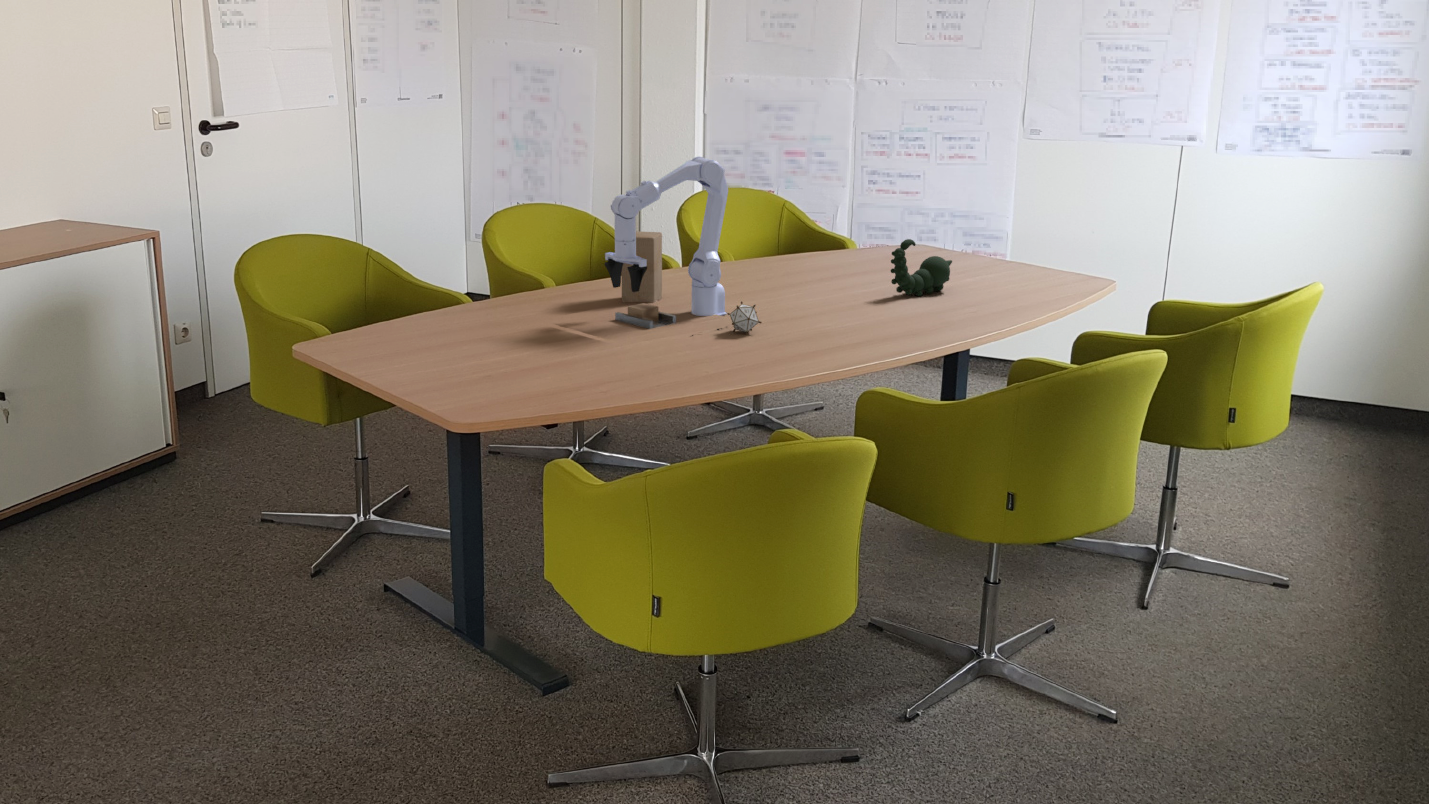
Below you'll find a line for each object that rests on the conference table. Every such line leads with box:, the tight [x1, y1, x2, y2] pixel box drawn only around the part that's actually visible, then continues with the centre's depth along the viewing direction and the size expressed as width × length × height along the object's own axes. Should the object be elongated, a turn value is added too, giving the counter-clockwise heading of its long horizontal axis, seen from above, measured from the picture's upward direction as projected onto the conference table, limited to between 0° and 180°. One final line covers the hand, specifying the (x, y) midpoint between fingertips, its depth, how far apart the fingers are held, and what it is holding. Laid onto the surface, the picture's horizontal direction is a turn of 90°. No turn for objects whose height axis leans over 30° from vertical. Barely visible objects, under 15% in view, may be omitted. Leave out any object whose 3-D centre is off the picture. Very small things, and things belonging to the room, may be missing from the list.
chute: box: [614, 310, 702, 333], centre depth 328 cm, size 10×24×3 cm, turn 46°
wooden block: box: [621, 230, 663, 304], centre depth 356 cm, size 10×10×20 cm
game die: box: [726, 301, 763, 336], centre depth 323 cm, size 9×8×10 cm
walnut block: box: [627, 302, 659, 322], centre depth 332 cm, size 6×6×4 cm
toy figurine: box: [890, 238, 953, 297], centre depth 371 cm, size 9×19×25 cm
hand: (626, 289), depth 330 cm, fingers open, 7 cm apart
